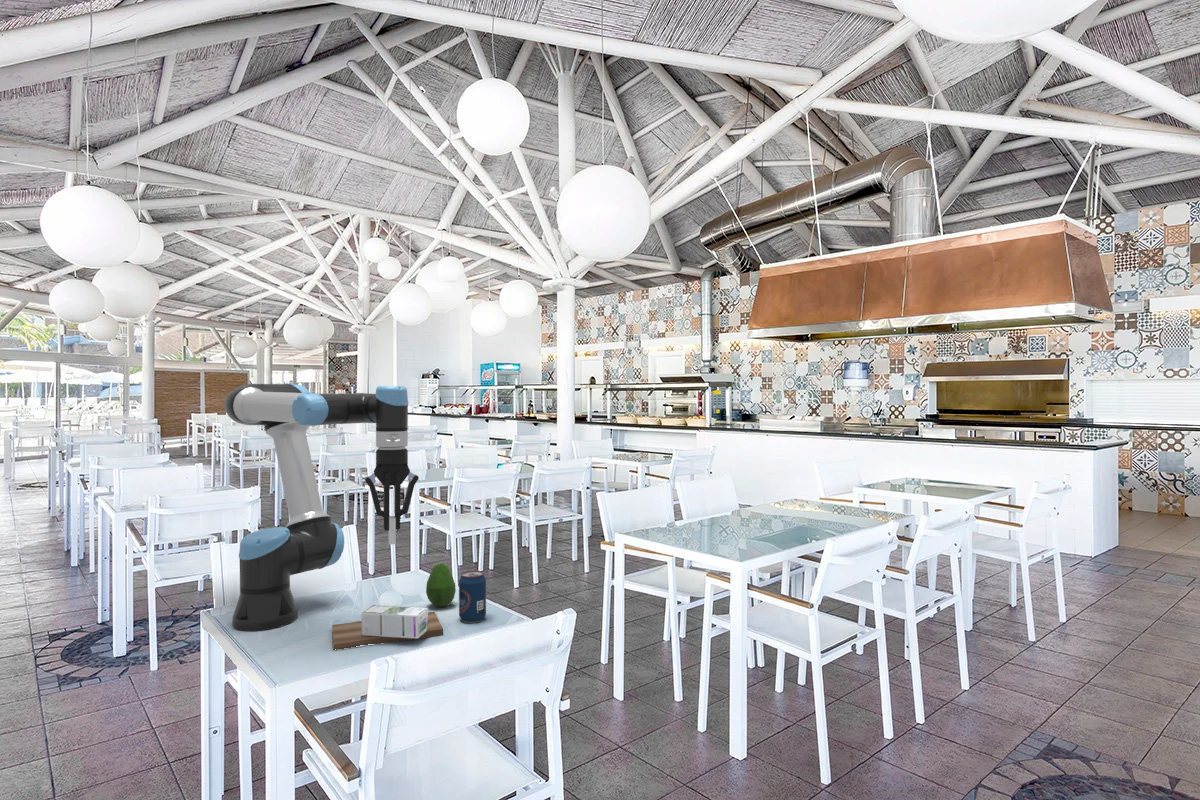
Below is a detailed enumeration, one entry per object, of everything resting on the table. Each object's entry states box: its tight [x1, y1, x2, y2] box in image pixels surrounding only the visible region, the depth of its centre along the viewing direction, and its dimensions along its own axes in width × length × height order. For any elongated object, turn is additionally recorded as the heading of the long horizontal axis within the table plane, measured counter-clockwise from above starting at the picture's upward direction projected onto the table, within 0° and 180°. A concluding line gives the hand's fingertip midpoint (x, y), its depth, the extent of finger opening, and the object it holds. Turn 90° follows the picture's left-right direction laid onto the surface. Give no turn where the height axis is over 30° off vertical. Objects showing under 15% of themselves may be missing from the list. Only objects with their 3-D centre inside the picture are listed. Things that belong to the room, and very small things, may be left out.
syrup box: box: [361, 604, 429, 640], centre depth 159 cm, size 6×6×14 cm
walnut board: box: [331, 611, 444, 651], centre depth 164 cm, size 14×25×2 cm, turn 113°
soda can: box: [458, 570, 487, 624], centre depth 174 cm, size 7×7×12 cm
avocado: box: [425, 562, 457, 608], centre depth 184 cm, size 8×8×12 cm
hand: (391, 542), depth 165 cm, fingers closed
